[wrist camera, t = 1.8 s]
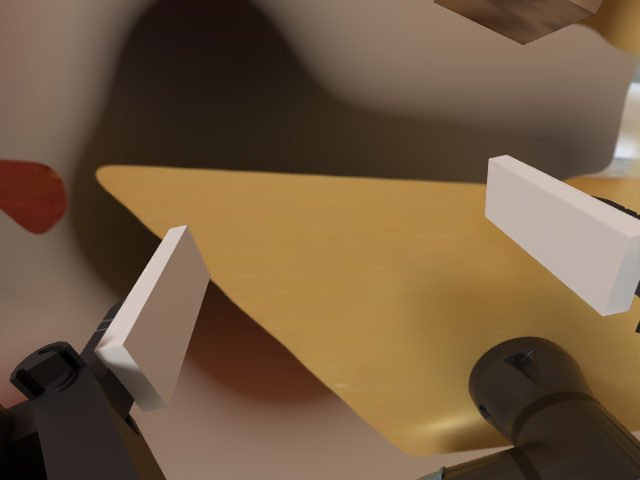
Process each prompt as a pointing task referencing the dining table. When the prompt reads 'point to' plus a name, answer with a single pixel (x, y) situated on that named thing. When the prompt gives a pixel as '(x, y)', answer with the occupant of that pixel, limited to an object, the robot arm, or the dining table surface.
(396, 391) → the dining table surface
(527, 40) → the socket block
